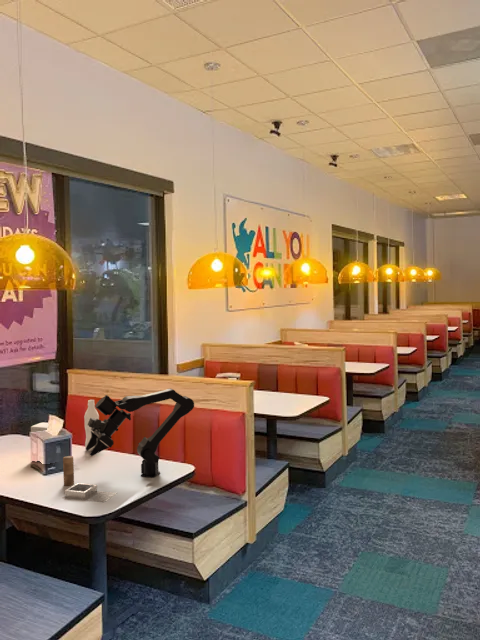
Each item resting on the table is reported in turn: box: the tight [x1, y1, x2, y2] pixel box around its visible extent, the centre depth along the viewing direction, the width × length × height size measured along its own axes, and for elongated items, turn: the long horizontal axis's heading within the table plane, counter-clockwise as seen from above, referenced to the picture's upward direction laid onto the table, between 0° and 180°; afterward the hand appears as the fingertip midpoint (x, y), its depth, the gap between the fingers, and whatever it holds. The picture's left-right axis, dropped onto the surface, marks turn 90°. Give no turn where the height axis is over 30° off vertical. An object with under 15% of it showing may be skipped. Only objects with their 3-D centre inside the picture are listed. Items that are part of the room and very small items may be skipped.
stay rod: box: [62, 455, 75, 487], centre depth 227 cm, size 4×4×12 cm
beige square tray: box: [64, 482, 98, 499], centre depth 216 cm, size 9×9×2 cm
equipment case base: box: [61, 490, 118, 503], centre depth 215 cm, size 18×10×2 cm, turn 74°
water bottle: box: [83, 399, 100, 452], centre depth 282 cm, size 7×7×25 cm
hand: (88, 452), depth 231 cm, fingers open, 9 cm apart
